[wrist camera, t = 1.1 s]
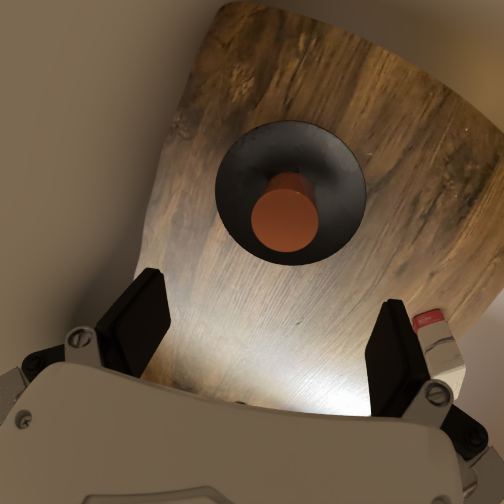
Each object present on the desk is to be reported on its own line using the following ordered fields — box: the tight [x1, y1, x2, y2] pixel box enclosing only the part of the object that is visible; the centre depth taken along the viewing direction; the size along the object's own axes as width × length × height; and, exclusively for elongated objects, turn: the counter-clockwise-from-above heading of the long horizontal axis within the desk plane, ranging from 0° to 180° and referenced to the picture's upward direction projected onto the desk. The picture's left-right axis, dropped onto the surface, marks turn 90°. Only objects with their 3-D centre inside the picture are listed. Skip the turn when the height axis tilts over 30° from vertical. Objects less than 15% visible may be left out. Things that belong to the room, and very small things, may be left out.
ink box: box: [413, 309, 466, 400], centre depth 32 cm, size 9×5×12 cm, turn 21°
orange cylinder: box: [251, 172, 319, 252], centre depth 23 cm, size 5×5×6 cm
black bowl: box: [215, 120, 366, 266], centre depth 28 cm, size 14×14×7 cm
